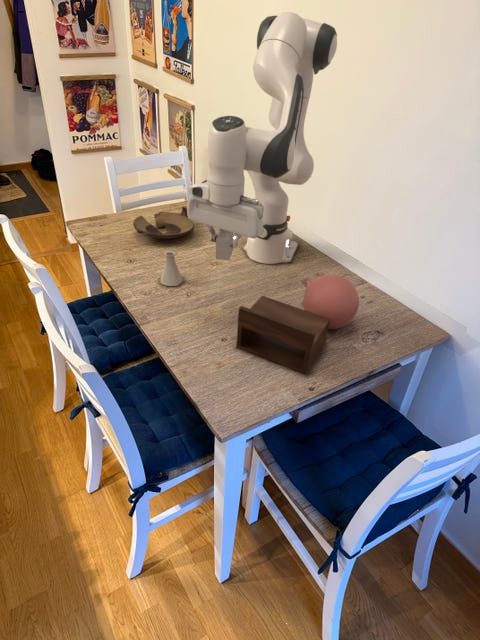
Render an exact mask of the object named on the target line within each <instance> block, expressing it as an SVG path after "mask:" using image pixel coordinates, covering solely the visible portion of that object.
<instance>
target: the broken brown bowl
mask: <svg viewBox="0 0 480 640" xmlns="http://www.w3.org/2000/svg"><path fill="white" fill-rule="evenodd" d="M154 222H155V225H156V226H154V225H153V224H151V222H149V221H148V220H147V219H145V217H144V216H143V215H139V216H137V217H135V218H134V220H133V222H132V224H133V228H134V229H135V231H136V233H137V234H141V235H143V236H146V237H152V238H156V239H172V238H173V239H174V238H180V237H182V236H185V235H188V234H190V233H191V232H193V230H194V228H195V223H194V221H191V220H190V219H189V217H188V215H187V205H186V206H182V207H181V213H176V212H169V211H159V212H158V213H154ZM163 228H165V229H166V231H167V232H165V233H163V232H162V231H160V230H159V229H163Z"/></svg>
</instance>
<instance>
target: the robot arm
mask: <svg viewBox="0 0 480 640" xmlns="http://www.w3.org/2000/svg"><path fill="white" fill-rule="evenodd" d="M337 47H338V33H337V31H336V28H335V27H334V26H332V25H330V24H328V23H326V22H322V23H321V22H318V21H316V20H312V19H308V18H303V17H302V16H300V15H299V14H297V13H296V12H293V11H285V12H281V13H280V14H278V15H269V16H266V17H265V18H264V19H263V20H262V21H261V22H260V24H259V26H258V31H257V35H256V49H257V51H256V54H255V57H254V61H253V64H252V71H253V76H254V79H255V81H256V83H257V85H258V86H259V88H260V89H261V90H262V91H263V92H264V93H265V94H267V95H268V96H270V97H272V98H271V102H270V108H269V111H268V121H269V123H270V125H271V126H272V127H273V128H274V129H275V130H264V129H260V128H253V127H249V126H247V125H246V123H245V122H246V121H244V119H243V118H241V117H239V116H235V115H223V116H219V117H217V118H215V119H213V120H212V122H211V124H210V127H209V133H208V140H207V156H206V157H207V164H208V173H207V177H206V179H202V180H200V181H198V182H194V183H193V184H192V185H190V186H189V187H188V193H189V194H188V195H189V196H188V198H187V204H186V206H187V215H188V218H189V219H190V220H191V221H193V222H195V223H198V224H202V225H205V228H206V232H207V233H208V235H209V241H210V242H213V243H216V237H217V235H218V233H216V230H215V228H216V229H218V230H219V229H222V230H225V231H229V232H232V233H234V235H233V239H232V240H231V241H230V247H232V248H233V249H237V248H238V246H239V240H240V239H241V238H242V237H245V238H247V241H246V244H244V245H243V250H244V251H245V253H246V255H247V257H248V258H249V259H250V260H252V261H253V262H257V263H259V264H265V265H273V264H280V263H281V264H282V263H291V262H292V259H293V257H294V255H295V254H296V251H297V249H298V242H297V241H295V240H293V238H294V232H293V230H291V229H290V228H289V227H288V226H289V224H288V222H290V220H291V215H288V209H289V201H290V200H289V196H288V194H287V192H286V191H285V190H284V189H283V187H282V186H281V184H280V183H283V184H287V185H291V186H293V185H294V186H303V185H304V184H306V183H307V182H309V180H310V179H311V178H312V175H313V174H314V169H315V162H314V159H313V156H312V155H311V153H310V152H309V149H308V147H307V144H306V140H305V133H304V132H305V130H304V129H305V121H306V116H307V111H308V107H309V102H310V98H311V93H312V88H313V82H314V75H318V73H319V72H320V71H322V70H325V69H326V68H327V67H329V66H330V64H331V62H332V60H333V59H334V57H335V55H336V52H337ZM245 171H246V173H248V175H249V177H250V180H251V182H252V186H253V190H254V196H255V198H250V197H248V196H245Z"/></svg>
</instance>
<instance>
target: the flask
mask: <svg viewBox="0 0 480 640" xmlns="http://www.w3.org/2000/svg"><path fill="white" fill-rule="evenodd" d="M175 256H176V252H174V251H171V250H170V251H169V250H168V251H166V252H165V253H164V257H166V259H165V265H164V267H163V268H164V269H163V271H162V274H161V277H160V284H161V285H164V286H167V287H177V286H179V285H180V284H181V283H183V276H182V274H181V272H180V270H179V268H178V265H177V263H176V259H175Z"/></svg>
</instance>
